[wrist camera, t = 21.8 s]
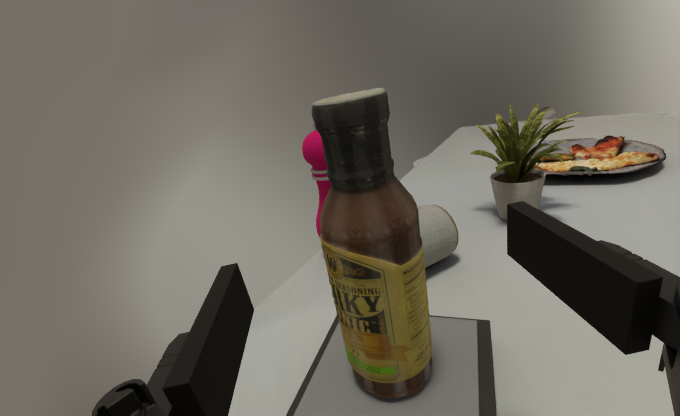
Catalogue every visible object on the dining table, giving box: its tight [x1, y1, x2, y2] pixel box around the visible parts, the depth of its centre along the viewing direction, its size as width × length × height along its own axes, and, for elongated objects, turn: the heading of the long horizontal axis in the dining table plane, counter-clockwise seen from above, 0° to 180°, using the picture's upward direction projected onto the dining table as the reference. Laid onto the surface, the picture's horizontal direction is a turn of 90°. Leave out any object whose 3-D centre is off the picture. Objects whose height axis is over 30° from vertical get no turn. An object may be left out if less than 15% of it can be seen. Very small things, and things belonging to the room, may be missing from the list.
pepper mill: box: [302, 121, 331, 237], centre depth 46 cm, size 7×7×20 cm
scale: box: [286, 315, 496, 416], centre depth 25 cm, size 14×14×3 cm
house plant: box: [470, 103, 581, 220], centre depth 45 cm, size 14×14×16 cm
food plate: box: [528, 136, 666, 176], centre depth 62 cm, size 25×23×4 cm
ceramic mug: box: [417, 205, 458, 268], centre depth 42 cm, size 11×8×8 cm
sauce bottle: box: [312, 88, 432, 399], centre depth 21 cm, size 6×6×20 cm
